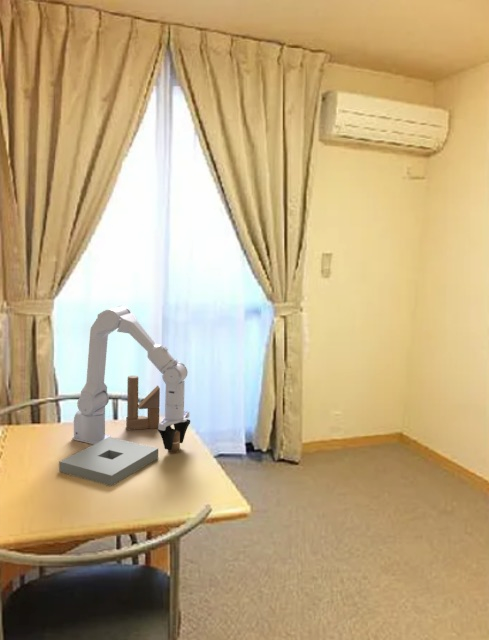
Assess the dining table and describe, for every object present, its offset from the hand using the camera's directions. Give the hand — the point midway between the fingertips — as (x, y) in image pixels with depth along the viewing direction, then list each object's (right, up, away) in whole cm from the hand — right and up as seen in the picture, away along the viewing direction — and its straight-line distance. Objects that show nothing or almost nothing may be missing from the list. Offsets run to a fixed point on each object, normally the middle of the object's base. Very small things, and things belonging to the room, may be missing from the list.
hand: (173, 445), depth 181 cm
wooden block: (-13, +2, +19) cm, 23 cm away
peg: (0, -2, 0) cm, 2 cm away
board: (-17, -3, -12) cm, 21 cm away
